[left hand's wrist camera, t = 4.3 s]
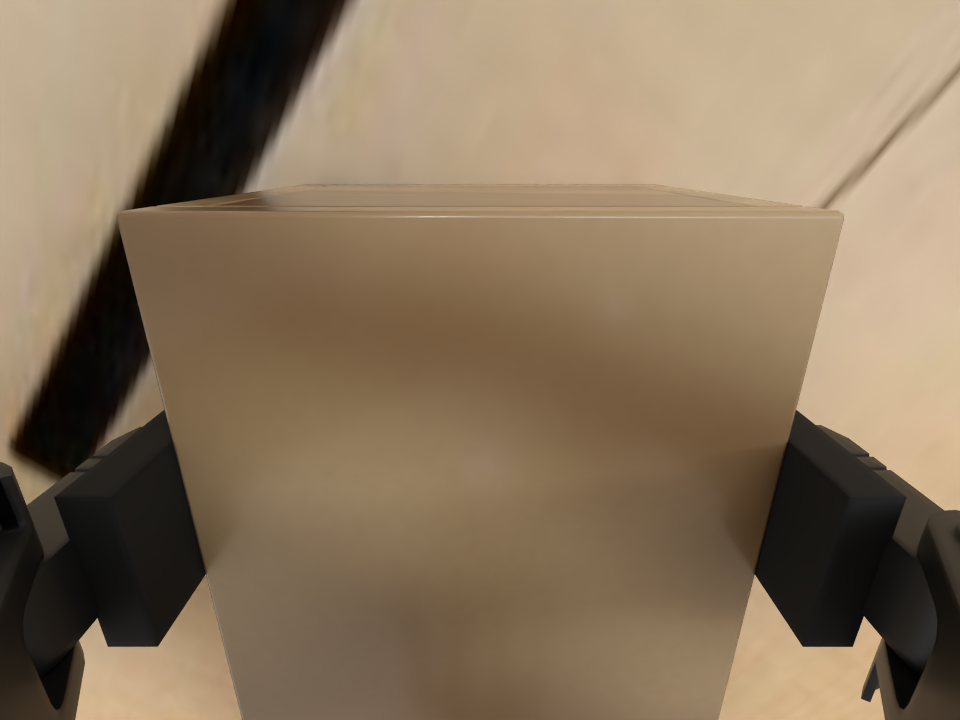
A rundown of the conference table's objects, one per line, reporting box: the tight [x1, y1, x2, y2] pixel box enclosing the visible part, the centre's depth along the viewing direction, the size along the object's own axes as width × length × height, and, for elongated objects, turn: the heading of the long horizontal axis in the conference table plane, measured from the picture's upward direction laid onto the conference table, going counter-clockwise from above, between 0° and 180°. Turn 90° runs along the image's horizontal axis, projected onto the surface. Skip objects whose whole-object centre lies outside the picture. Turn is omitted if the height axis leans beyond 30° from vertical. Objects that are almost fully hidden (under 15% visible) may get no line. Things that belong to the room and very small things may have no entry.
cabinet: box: [117, 185, 844, 720], centre depth 14 cm, size 21×10×8 cm, turn 0°
